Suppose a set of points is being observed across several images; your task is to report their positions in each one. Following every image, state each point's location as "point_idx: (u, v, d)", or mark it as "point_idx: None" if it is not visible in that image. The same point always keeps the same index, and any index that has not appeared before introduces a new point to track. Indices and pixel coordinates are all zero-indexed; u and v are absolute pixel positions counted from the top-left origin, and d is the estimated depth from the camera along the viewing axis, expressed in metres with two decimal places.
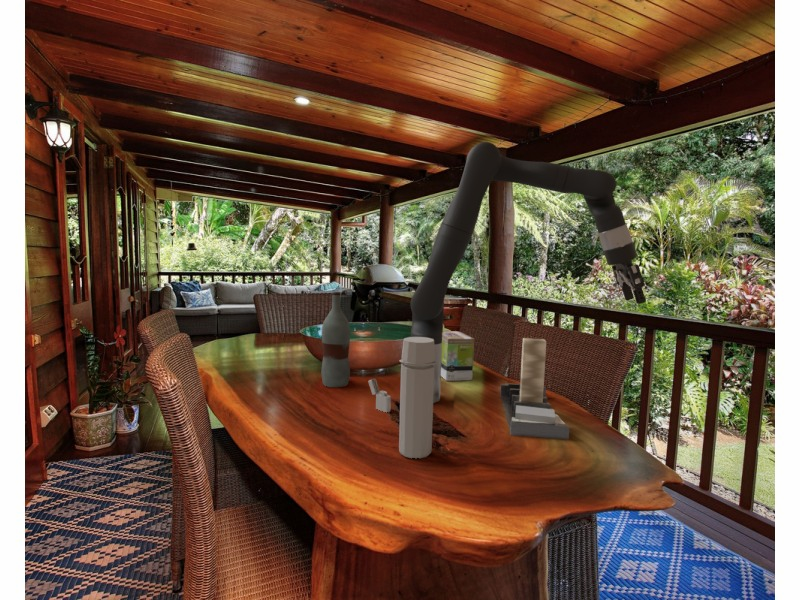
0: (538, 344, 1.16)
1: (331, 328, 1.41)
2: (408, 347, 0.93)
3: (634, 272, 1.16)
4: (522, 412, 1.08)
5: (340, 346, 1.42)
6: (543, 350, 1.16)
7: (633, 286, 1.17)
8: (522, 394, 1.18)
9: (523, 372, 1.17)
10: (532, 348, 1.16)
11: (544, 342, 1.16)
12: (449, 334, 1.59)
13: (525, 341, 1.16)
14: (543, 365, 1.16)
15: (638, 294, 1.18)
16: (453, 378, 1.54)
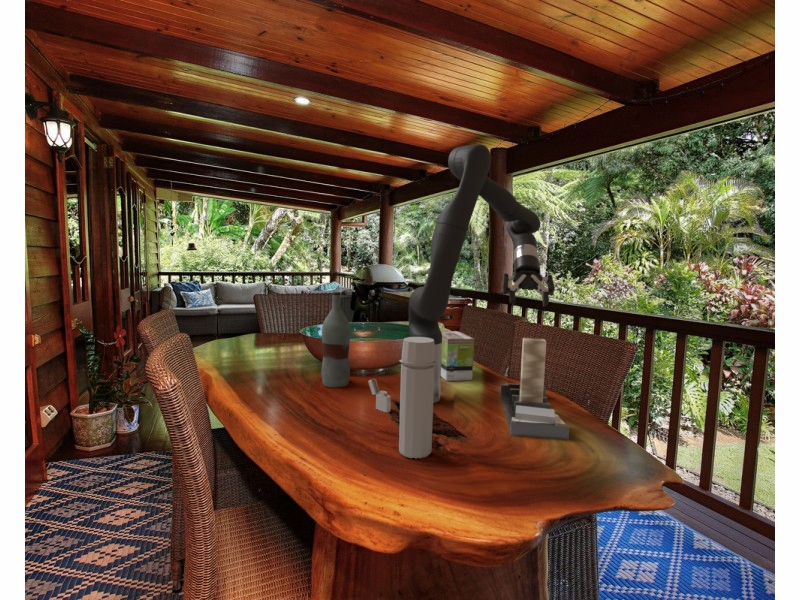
0: (538, 344, 1.16)
1: (331, 328, 1.41)
2: (408, 347, 0.93)
3: None
4: (522, 412, 1.08)
5: (340, 346, 1.42)
6: (543, 350, 1.16)
7: (552, 287, 1.29)
8: (522, 394, 1.18)
9: (523, 372, 1.17)
10: (532, 348, 1.16)
11: (544, 342, 1.16)
12: (449, 334, 1.59)
13: (525, 341, 1.16)
14: (543, 365, 1.16)
15: None
16: (453, 378, 1.54)
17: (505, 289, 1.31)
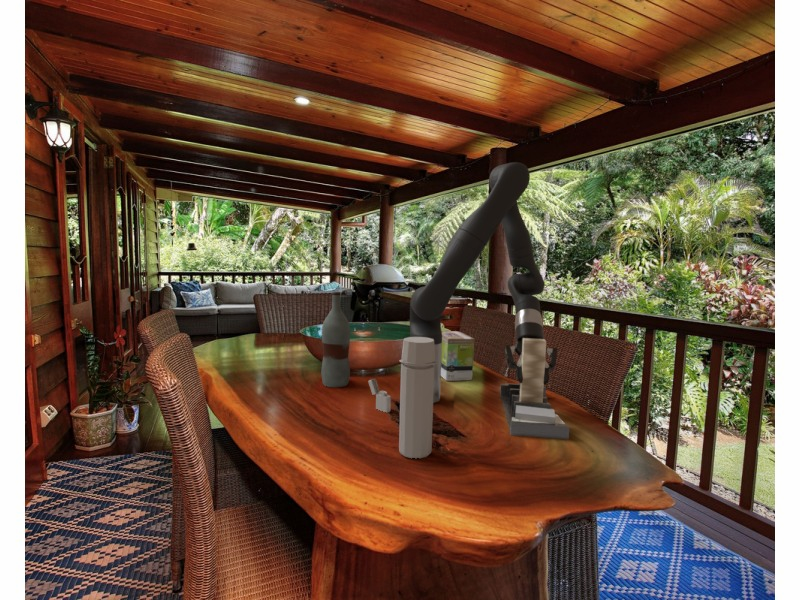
0: (538, 344, 1.16)
1: (331, 328, 1.41)
2: (408, 347, 0.93)
3: None
4: (522, 412, 1.08)
5: (340, 346, 1.42)
6: (543, 350, 1.16)
7: (553, 363, 1.18)
8: (522, 394, 1.18)
9: (523, 372, 1.17)
10: (532, 348, 1.16)
11: (544, 342, 1.16)
12: (449, 334, 1.59)
13: (525, 341, 1.16)
14: (543, 365, 1.16)
15: None
16: (453, 378, 1.54)
17: (511, 364, 1.20)
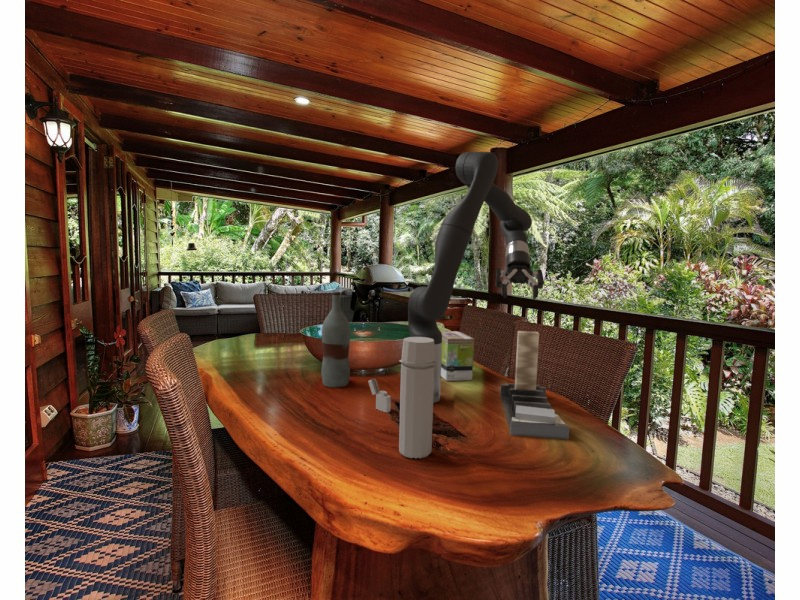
0: (531, 336, 1.27)
1: (331, 328, 1.41)
2: (408, 347, 0.93)
3: None
4: (522, 412, 1.08)
5: (340, 346, 1.42)
6: (537, 342, 1.27)
7: (542, 281, 1.37)
8: (517, 382, 1.29)
9: (518, 362, 1.28)
10: (526, 340, 1.27)
11: (537, 334, 1.27)
12: (449, 334, 1.59)
13: (520, 333, 1.27)
14: (536, 355, 1.27)
15: None
16: (453, 378, 1.54)
17: (497, 283, 1.39)
